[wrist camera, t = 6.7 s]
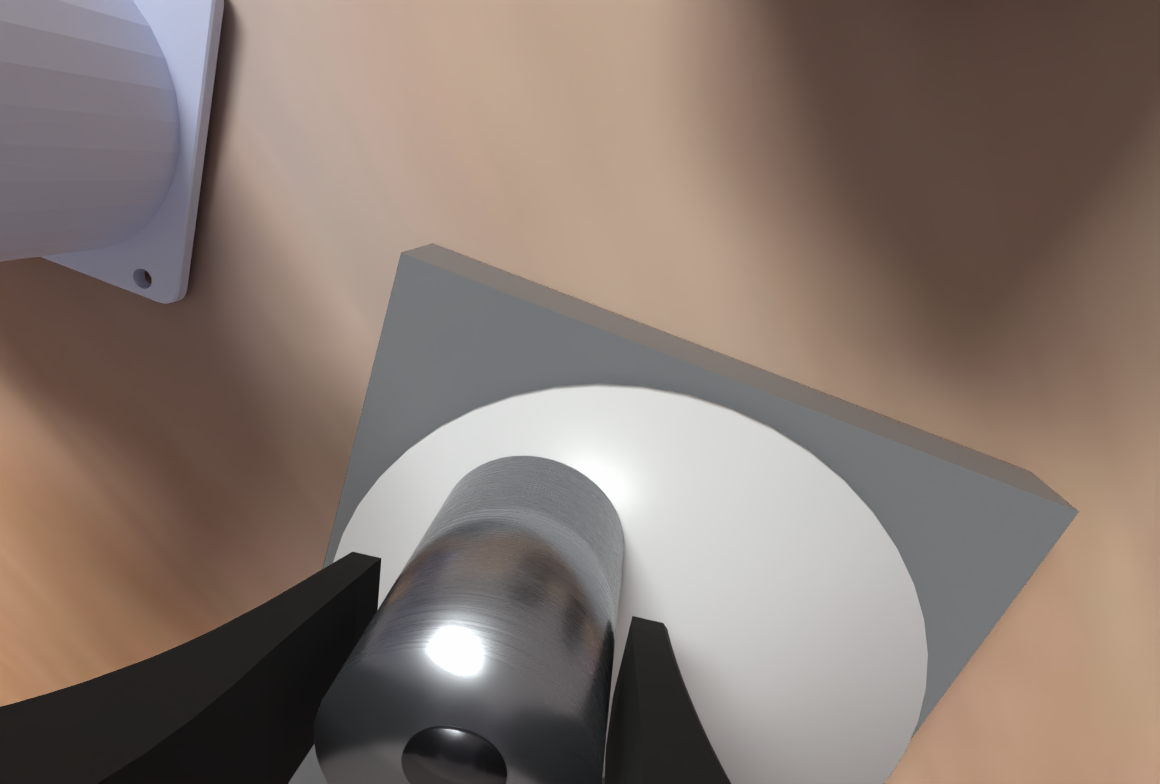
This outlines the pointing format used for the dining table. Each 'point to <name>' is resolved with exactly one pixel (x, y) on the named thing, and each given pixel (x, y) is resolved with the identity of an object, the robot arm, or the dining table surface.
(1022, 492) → the kitchen scale
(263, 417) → the dining table surface
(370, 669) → the cylinder
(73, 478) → the dining table surface
